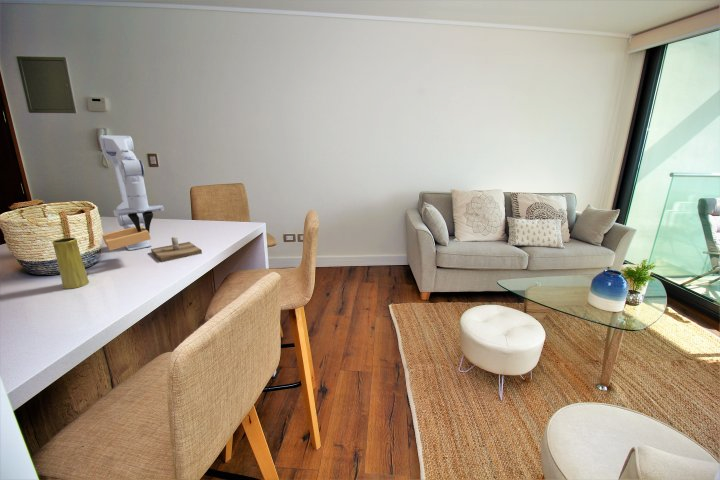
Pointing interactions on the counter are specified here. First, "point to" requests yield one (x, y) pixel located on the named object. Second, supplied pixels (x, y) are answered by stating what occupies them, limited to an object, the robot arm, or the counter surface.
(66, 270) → the vase
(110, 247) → the wooden square frame
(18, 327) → the counter surface
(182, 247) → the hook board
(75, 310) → the counter surface
